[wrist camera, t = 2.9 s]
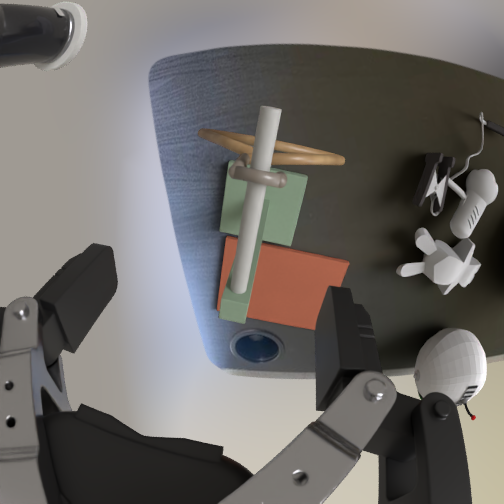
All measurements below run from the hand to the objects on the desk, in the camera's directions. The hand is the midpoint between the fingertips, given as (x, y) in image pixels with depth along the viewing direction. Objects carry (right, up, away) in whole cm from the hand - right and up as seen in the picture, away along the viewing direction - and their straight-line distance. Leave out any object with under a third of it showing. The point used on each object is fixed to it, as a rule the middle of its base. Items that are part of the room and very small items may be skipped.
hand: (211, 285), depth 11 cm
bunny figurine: (+30, +1, +30) cm, 42 cm away
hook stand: (+3, +12, +27) cm, 30 cm away
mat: (+6, -4, +36) cm, 37 cm away
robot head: (+38, -16, +39) cm, 56 cm away
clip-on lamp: (+30, +13, +22) cm, 40 cm away
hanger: (+3, +11, +16) cm, 19 cm away
